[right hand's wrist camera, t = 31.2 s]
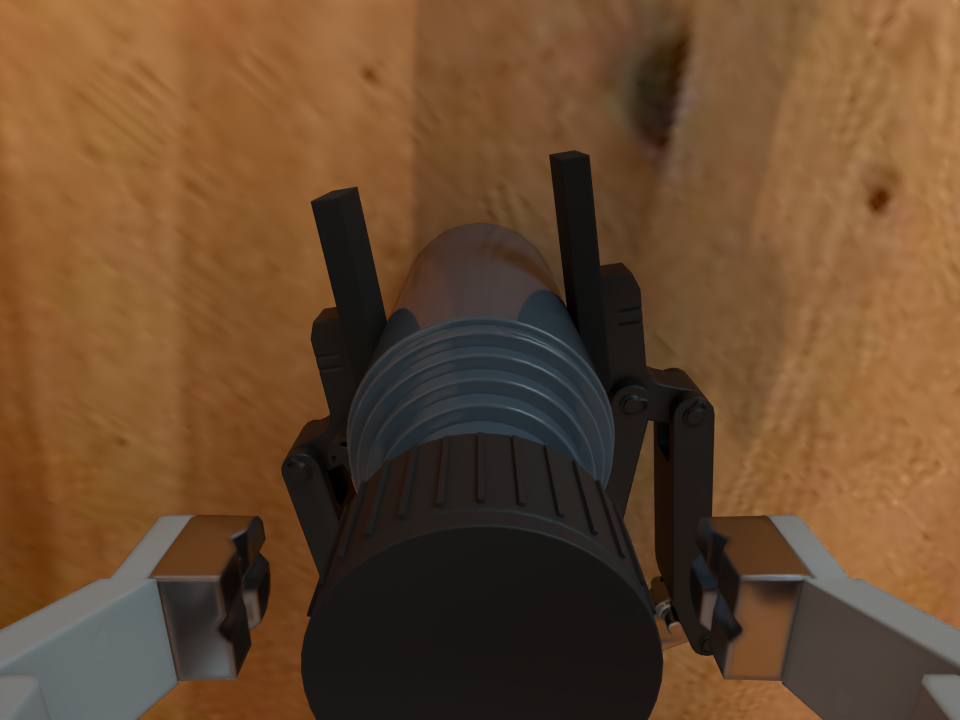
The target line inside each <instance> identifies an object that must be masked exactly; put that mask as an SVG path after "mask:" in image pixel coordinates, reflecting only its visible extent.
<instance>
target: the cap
mask: <svg viewBox="0 0 960 720" xmlns="http://www.w3.org/2000/svg"><path fill="white" fill-rule="evenodd" d="M656 614H657V613H656V609H655V606H654V603H653V600H652V598H651V595H650V592H649V589H648V586H647V584H646V581H645V578H644V575H643V573H642V570H641V567H640V564H639V561H638V559H637V556H636V553H635V550H634V548H633V545H632V542H631V539H630V536H629V534H628V531H627V529H626V527H625V524H624V521H623V519H622V516H621V513H620V510H619V507H618V505H617V503H614V504H613V503H612V502H611V500H610V499H609V497H608V495H607V494H606V492H605V491H604V488H603V485H602V482H601V481H600V480H599V479H598V480H595V479H594V478H593V477H592V476H591V475H590V474H589V473H588V472H587V471H586V470H584V469H583V468H582V467H581V466H580V465H579V462H578V461H577V460H575V459H574V460H571V459H570V458H568V457H567V456H565V455H563V454H562V453H560V452H558V451H556V450H554V449H551V447H550V446H549V445H547V444H545V445H543V444H540V443H537V442H534V441H531V440H528V439H525V438H520V437H518V436H517V435H512V436H510V435H505V434H493V433H484V432H478V433H468V434H460V435H453V436H449V435H447V436H444V437H443V438H440V439H436V440H432V441H429V442H426V443H423V444H421V445H419V446H417V445H414V446H412V447H411V449H409V450H407V451H406V452H404V453H402V454H400V455H399V456H397V457H395V458H393V459H392V460H390V461H388V460H387V461H385V462H384V463H383V465H382V467H381V468H380V469H378V470H377V471H376V472H375V473H374V474H373V475H372V476H371V477H370V478H369V479H368V480H367V481H366V482H365V481H363V482H362V483H361V484H360V487H359V490H358V493H357V494H356V495H355V497H354V498H353V500H352V502H351V504H350V506H349V505H347V504H346V506H345V507H344V510H343V513H342V516H341V519H340V522H339V525H338V527H337V530H336V531H335V534H334V537H333V540H332V543H331V546H330V549H329V552H328V555H327V557H326V560H325V563H324V566H323V569H322V572H321V575H320V578H319V580H318V583H317V586H316V589H315V592H314V595H313V598H312V601H311V604H310V606H309V609H308V613H307V616H309V617H311V618H310V621H309V623H308V626H307V629H306V632H305V635H304V641H303V647H302V653H301V674H302V679H303V685H304V691H305V694H306V697H307V700H308V703H309V706H310V709H311V711H312V713H313V714H314V716H315V718H316V720H648V718H649V717H650V714H651V712H652V710H653V707H654V705H655V703H656V701H657V697H658V693H659V690H660V686H661V682H662V671H663V653H662V643H661V639H660V636H659V632H658V628H657V624H656V622H655V619H654V616H653V615H656Z"/></svg>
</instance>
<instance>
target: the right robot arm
mask: <svg viewBox="0 0 960 720" xmlns="http://www.w3.org/2000/svg"><path fill="white" fill-rule="evenodd" d="M265 539H266V538H265V532H264V526H263V521H262V520H261V519H260V518H259V517H258V516H229V515H197V516H196V515H165V516H162V517H160V518H159V519H158V520H157V521H156V522H155V523H154V525H153V526H152V527H151V528H150V530H149V531H148V532H147V533H146V534H145V536H144V537H143V538H142V539H141V541H140V542H139V543H138V544H137V546H136V547H135V548H134V549H133V550H132V552H131V553H130V554H129V555H128V557H127V558H126V559H125V560H124V561H123V563H122V564H121V565H120V566H119V568H118V569H117V570H116V571H115V572H114V574H113V575H112V576H111V577H110V579H98V580H96V581H94V582H92V583H90V584H88V585H86V586H84V587H83V588H81V589H79V590H77V591H75V592H73V593H71V594H69V595H67V596H65V597H63V598H61V599H59V600H57V601H55V602H54V603H52V604H50V605H48V606H46V607H44V608H42V609H40V610H38V611H36V612H34V613H32V614H30V615H28V616H26V617H25V618H23V619H21V620H19V621H17V622H15V623H13V624H11V625H9V626H7V627H5V628H3V629H1V630H0V720H137V719H139V718H140V717H141V716H142V715H143V714H144V713H145V712H147V711H148V710H149V709H150V708H151V707H152V706H153V705H155V704H156V703H157V702H158V701H159V700H160V699H161V698H163V697H164V696H165V695H166V694H167V693H168V692H169V691H171V690H172V689H173V688H174V687H175V686H176V685H177V684H178V681H190V680H224V679H236V678H237V676H238V674H239V671H240V669H241V667H242V665H243V662H244V660H245V658H246V656H247V653H248V651H249V649H250V647H251V638H250V630H252V629H253V628H254V627H256V626H257V625H258V624H260V623H261V621H262V619H263V616H264V614H265V612H266V609H267V604H268V599H269V594H270V567H269V562H268V561H267V560H266V559H265V558H264V557H263V556H262V555H261V554H260V552H259V551H260V549H261V547H262V545H263V543H264V541H265ZM694 539H695V541H696V543H697V545H698V547H699V549H700V551H701V552H700V554H699V555H698V556H697V557H696V558H695V559H694V560H693V561H692V562H691V568H690V578H689V582H690V595H691V601H692V605H693V609H694V612H695V614H696V616H697V619H698V621H699V623H700V624H702V625H703V626H704V627H706V628H707V629H708V630H710V638H709V647H710V649H711V651H712V653H713V656H714V658H715V660H716V662H717V665H718V667H719V669H720V671H721V674H722V676H723V678H724V679H734V680H770V681H782V684H783V685H784V686H785V687H786V688H788V689H789V690H790V691H791V692H792V693H793V694H794V695H795V696H797V697H798V698H799V699H800V700H801V701H802V702H803V703H805V704H806V705H807V706H808V707H809V708H810V709H811V710H813V711H814V712H815V713H816V714H817V715H818V716H819V717H821V718H822V719H823V720H960V630H958V629H956V628H955V627H953V626H951V625H949V624H947V623H945V622H943V621H941V620H939V619H937V618H935V617H933V616H931V615H929V614H928V613H926V612H924V611H922V610H920V609H918V608H916V607H914V606H912V605H910V604H908V603H906V602H904V601H902V600H901V599H899V598H897V597H895V596H893V595H891V594H889V593H887V592H885V591H883V590H881V589H879V588H877V587H875V586H874V585H872V584H870V583H868V582H866V581H864V580H862V579H850V577H849V576H848V575H847V574H846V573H845V571H844V570H843V569H842V568H841V566H840V565H839V564H838V563H837V562H836V560H835V559H834V558H833V557H832V555H831V554H830V553H829V552H828V551H827V549H826V548H825V547H824V546H823V544H822V543H821V542H820V541H819V540H818V538H817V537H816V536H815V535H814V533H813V532H812V531H811V530H810V529H809V527H808V526H807V525H806V524H805V522H804V521H803V520H802V519H801V518H800V517H798V516H796V515H794V514H787V515H762V516H727V517H700V518H699V520H698V523H697V525H696V531H695V538H694Z"/></svg>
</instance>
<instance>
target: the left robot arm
mask: <svg viewBox="0 0 960 720" xmlns="http://www.w3.org/2000/svg"><path fill="white" fill-rule="evenodd" d="M549 156H550V165H551V173H552V182H553V191H554V199H555V208H556V216H557V225H558V233H559V242H560V251H561V259H562V268H563V276H564V285H565V294H566V302H567V309H568V312H569V314H570V316H571V318H572V320H573V322H574V324H575V327H576V329H577V331H578V333H579V335H580V337H581V340H582V342H583V344H584V346H585V348H586V350H587V353H588V355H589V357H590V359H591V361H592V363H593V366H594V368H595V370H596V372H597V374H598V376H599V379H600V381H601V383H602V385H603V387H604V389H605V391H606V394H607V397H608V400H609V403H610V405H611V408H612V414H613V419H614V426H615V445H614V454H613V461H612V469H611V472H610V476H609V480H608V483H607V486H606V488H605V490H604V491H605V492H606V494H607V495H608V497H609V499H610V500H611V502H612V503H613V504H614V503H617V505H618V507H619V510H620V513H621V516H622V519H623V518H624V514H625V510H626V506H627V502H628V498H629V494H630V490H631V486H632V482H633V478H634V474H635V470H636V466H637V462H638V458H639V454H640V451H641V447H642V443H643V439H644V435H645V431H646V427H647V423H648V420H651V421H654V506H655V554H656V560H657V565H658V568H659V571H660V573H661V576H658V577H655V578H653V579H652V581H651V587H652V588H651V589H650V590H649V592H650V595H651V598H652V600H653V603H654V606H655V609H656V613H657V614H656V615H653V616H654V619H655V622H656V624H657V628H658V632H659V636H660V639H661V643H662V651H663V650H666V649H669V648H672V647H674V646H677V645H680V644H683V643H685V642H688V641H689V643H690V645H691V647H692V649H693V650H694V651H695V652H696V653H698V654H700V655H705V656H709V655H713V653H712V651H711V649H710V647H709V638H710V630H708V629H707V628H706V627H704V626H703V625H702V624H700V623H699V621H698V619H697V616H696V614H695V612H694V609H693V605H692V601H691V595H690V582H689V578H690V568H691V562H692V561H693V560H694V559H695V558H696V557H697V556H698V555H699V554H700V552H701V551H700V549H699V547H698V545H697V543H696V541H695V539H694V538H695V531H696V525H697V523H698V520H699V518H700V517H712V492H713V454H714V416H715V414H714V409H713V406H712V405H711V404H710V402H709V401H708V400H707V399H706V397H705V396H704V394H703V393H702V392H701V391H700V390H699V388H698V387H697V386H696V385H695V383H694V382H693V381H692V380H691V378H689V376H688V375H687V374H686V373H685V371H683V370H681V369H679V368H669V369H665V370H659V369H654V368H650V367H647V366H646V360H645V346H644V333H643V323H642V321H643V320H642V310H641V307H642V306H641V293H640V288H639V286H638V284H637V282H636V280H635V278H634V276H633V274H632V273H631V272H630V271H629V270H628V269H627V268H626V267H625V266H624V265H623V264H622V263H616V264H609V265H603V266H600V261H599V251H598V240H597V230H596V219H595V209H594V199H593V188H592V178H591V167H590V157H589V155H587V154H584V153H581V152H578V151H575V150H574V151H568V152H562V153H556V154H550V155H549ZM311 205H312V209H313V213H314V217H315V221H316V225H317V229H318V233H319V237H320V241H321V245H322V249H323V254H324V258H325V262H326V266H327V270H328V274H329V278H330V282H331V286H332V290H333V294H334V298H335V302H336V306H337V307H333V308H326V309H324V310H323V311H322V312H321V313H320V314H319V316H318V317H317V318H316V319H315V321H314V322H313V327H312V334H311V342H312V346H313V350H314V354H315V356H316V361H317V365H318V369H319V371H320V376H321V380H322V384H323V388H324V391H325V395H326V399H327V403H328V406H329V410H330V415H329V416H327V417H326V418H324V419H322V420H312V421H310V422H308V423H307V424H306V425H305V426H304V427H303V429H302V430H301V432H300V434H299V436H298V437H297V439H296V441H295V443H294V444H293V446H292V448H291V450H290V451H289V453H288V455H287V457H286V458H285V460H284V462H283V465H282V468H281V469H282V476H283V478H284V481H285V484H286V486H287V489H288V492H289V494H290V497H291V500H292V502H293V505H294V508H295V511H296V513H297V516H298V519H299V521H300V524H301V527H302V529H303V532H304V535H305V538H306V540H307V543H308V546H309V548H310V551H311V554H312V556H313V559H314V562H315V564H316V567H317V570H318V573H319V575H321V572H322V569H323V566H324V563H325V560H326V557H327V555H328V552H329V549H330V546H331V543H332V540H333V537H334V534H335V531H336V530H337V527H338V525H339V522H340V519H341V516H342V513H343V510H344V507H345V506H346V504H347V505H349V506H350V504H351V502H352V500H353V498H354V497H355V495H356V491H355V488H354V485H353V482H352V479H351V477H352V474H351V470H350V465H349V456H348V451H347V435H346V434H347V423H348V416H349V412H350V408H351V404H352V401H353V399H354V396H355V394H356V391H357V389H358V386H359V384H360V382H361V380H362V377H363V375H364V373H365V371H366V369H367V366H368V364H369V362H370V360H371V357H372V355H373V353H374V351H375V348H376V346H377V344H378V342H379V340H380V337H381V335H382V333H383V331H384V328H385V326H386V324H387V320H386V315H385V311H384V306H383V301H382V297H381V292H380V288H379V283H378V279H377V274H376V270H375V265H374V260H373V256H372V251H371V247H370V242H369V238H368V233H367V229H366V224H365V220H364V215H363V210H362V206H361V201H360V197H359V192H358V188H357V187H353V188H347V189H341V190H335V191H331V192H329V193H327V194H325V195H323V196H321V197H319V198H317V199H315V200H313V201H311ZM350 475H351V476H350Z"/></svg>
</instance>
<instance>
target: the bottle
mask: <svg viewBox="0 0 960 720" xmlns="http://www.w3.org/2000/svg"><path fill="white" fill-rule="evenodd" d="M478 432H484V433H493V434H505V435H510V436H512V435H517V436H518V437H520V438H525V439H528V440H531V441H534V442H537V443H540V444H543V445H545V444H547V445H549V446H550V447H551V449H554V450H556V451H558V452H560V453H562V454H563V455H565V456H567V457H568V458H570V459H571V460H574V459H575V460H577V461H578V462H579V465H580V466H581V467H582V468H583V469H584V470H586V471H587V472H588V473H589V474H590V475H591V476H592V477H593V478H594V479H595V480H598V479H599V480H600V481H601V482H602V485H603V488H604V490H605V488H606V486H607V483H608V480H609V476H610V472H611V469H612V461H613V454H614V445H615V426H614V419H613V414H612V408H611V405H610V403H609V400H608V397H607V394H606V391H605V389H604V387H603V385H602V383H601V381H600V379H599V376H598V374H597V372H596V370H595V368H594V366H593V363H592V361H591V359H590V357H589V355H588V353H587V350H586V348H585V346H584V344H583V342H582V340H581V337H580V335H579V333H578V331H577V329H576V327H575V324H574V322H573V320H572V318H571V316H570V314H569V312H568V309H567V307H566V305H565V303H564V301H563V299H562V296H561V294H560V292H559V290H558V288H557V286H556V283H555V281H554V279H553V277H552V275H551V273H550V270H549V268H548V266H547V264H546V262H545V260H544V259H543V257H542V256H541V254H540V253H539V251H538V250H537V249H536V248H535V247H534V246H533V245H532V244H531V243H530V242H529V241H528V240H526V239H525V238H524V237H522V236H521V235H519V234H517V233H516V232H514V231H512V230H509V229H507V228H504V227H501V226H497V225H492V224H478V223H477V224H467V225H463V226H459V227H456V228H453V229H451V230H448V231H446V232H444V233H443V234H441V235H439V236H438V237H436V238H435V239H434V240H432V241H431V242H430V243H429V244H428V245H427V246H426V247H425V248H424V249H423V250H422V252H421V253H420V254H419V255H418V257H417V259H416V260H415V262H414V264H413V266H412V268H411V270H410V273H409V275H408V277H407V279H406V282H405V284H404V286H403V288H402V291H401V293H400V295H399V297H398V299H397V302H396V304H395V306H394V308H393V311H392V313H391V315H390V317H389V320H388V322H387V324H386V326H385V328H384V331H383V333H382V335H381V337H380V340H379V342H378V344H377V346H376V348H375V351H374V353H373V355H372V357H371V360H370V362H369V364H368V366H367V369H366V371H365V373H364V375H363V377H362V380H361V382H360V384H359V386H358V389H357V391H356V394H355V396H354V399H353V401H352V404H351V408H350V412H349V416H348V423H347V434H346V435H347V451H348V456H349V465H350V470H351V474H352V478H353V481H354V484H355V487H356V489H357V492H358V490H359V487H360V484H361V483H362V482H363V481H365V482H366V481H367V480H368V479H369V478H370V477H371V476H372V475H373V474H374V473H375V472H376V471H377V470H378V469H380V468H381V467H382V465H383V463H384V462H385V461H387V460H388V461H390V460H392V459H393V458H395V457H397V456H399V455H400V454H402V453H404V452H406V451H407V450H409V449H411V447H412V446H414V445H417V446H419V445H421V444H423V443H426V442H429V441H432V440H436V439H440V438H443V437H444V436H447V435H449V436H453V435H460V434H468V433H478Z"/></svg>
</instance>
